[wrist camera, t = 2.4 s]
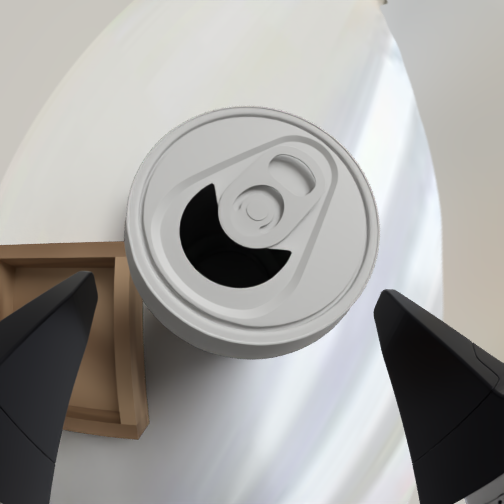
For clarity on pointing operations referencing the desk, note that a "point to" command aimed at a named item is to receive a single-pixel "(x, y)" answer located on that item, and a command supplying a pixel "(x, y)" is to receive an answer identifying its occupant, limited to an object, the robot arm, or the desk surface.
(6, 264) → the tray
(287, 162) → the beverage can
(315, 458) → the desk surface
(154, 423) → the desk surface
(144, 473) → the desk surface
